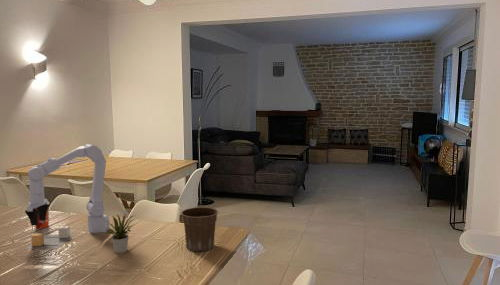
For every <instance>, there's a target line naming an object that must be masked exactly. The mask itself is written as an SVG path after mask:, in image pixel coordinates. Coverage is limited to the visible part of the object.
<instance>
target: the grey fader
mask: <svg viewBox="0 0 500 285" xmlns="http://www.w3.org/2000/svg"><path fill="white" fill-rule="evenodd" d="M57 229H58V235H59V238H68V237H70V234H71V226H69V225H65V226H64V225H61V226H60V227H58V228H57Z"/></svg>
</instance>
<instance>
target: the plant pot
mask: <svg viewBox="0 0 500 285" xmlns="http://www.w3.org/2000/svg"><path fill="white" fill-rule="evenodd" d="M180 214H181V216H182V221H183V226H184V234H185V246H186V248H187V250H188V251H191V252H200V251H202V252H205V251H210V250H211V249H213V248H214V247H215V234H216V222H217V217H218V214H219V210H218V209H216V208H213V207H207V206H205V207H204V206H201V207H200V206H199V207H197V206H196V207H190V208H186V209H184V210H182V211H181V213H180Z"/></svg>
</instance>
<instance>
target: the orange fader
mask: <svg viewBox="0 0 500 285" xmlns="http://www.w3.org/2000/svg"><path fill="white" fill-rule="evenodd" d="M44 235H45V234H44V233H37V232H36V233H33V234H31V236H30V239H31V244H32V246H42V245H43V244H44Z"/></svg>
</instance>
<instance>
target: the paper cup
mask: <svg viewBox="0 0 500 285" xmlns="http://www.w3.org/2000/svg"><path fill="white" fill-rule="evenodd" d="M47 202H48V203H46V204H50V202H49V201H48V200H47ZM49 208H50V207H49ZM49 208H48V210H47V214H46V219H45V220H40V218H39V215H38V223H37V225H35V229H45V228H47V227H49V220H50V216H49V215H50V214H49V212H50V211H49V210H50V209H49ZM35 210H37V208H36V209H35Z"/></svg>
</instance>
